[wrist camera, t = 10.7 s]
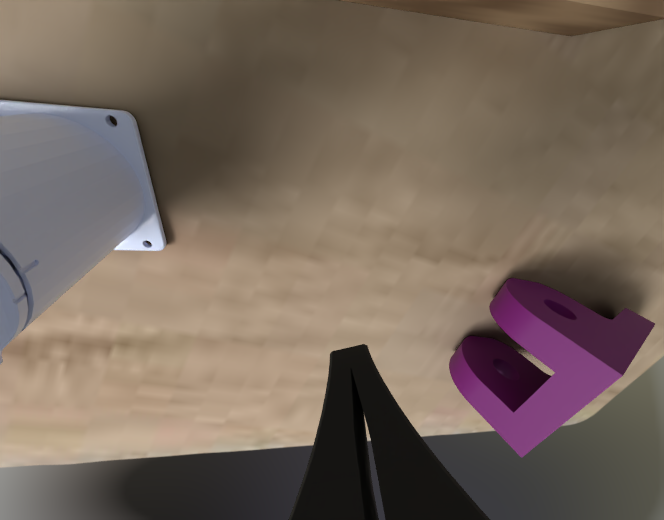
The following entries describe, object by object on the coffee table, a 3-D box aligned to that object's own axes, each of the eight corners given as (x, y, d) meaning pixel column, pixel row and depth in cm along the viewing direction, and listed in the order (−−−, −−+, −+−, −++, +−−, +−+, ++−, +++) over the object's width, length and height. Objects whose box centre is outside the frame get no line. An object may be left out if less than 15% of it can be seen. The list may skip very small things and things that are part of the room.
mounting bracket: (564, 264, 31) (488, 283, 21) (661, 314, 26) (623, 375, 15) (515, 324, 36) (432, 364, 25) (588, 378, 30) (521, 457, 20)
